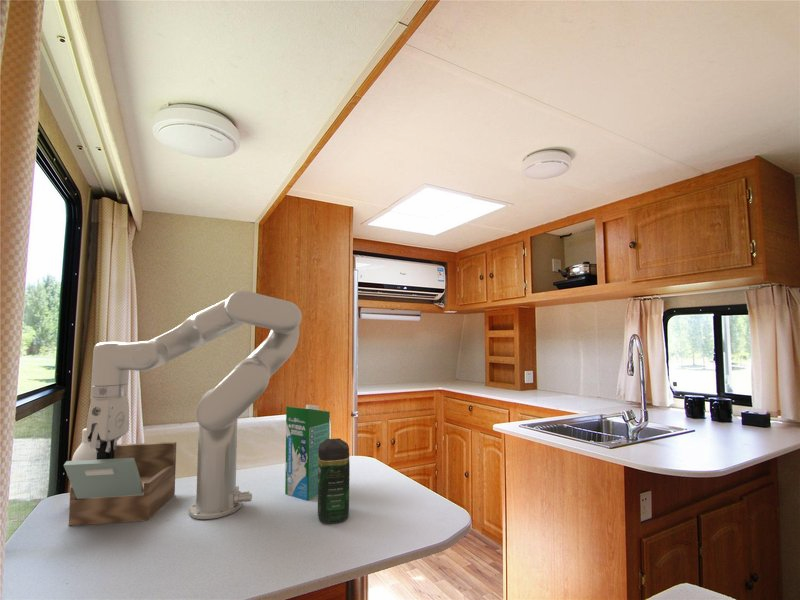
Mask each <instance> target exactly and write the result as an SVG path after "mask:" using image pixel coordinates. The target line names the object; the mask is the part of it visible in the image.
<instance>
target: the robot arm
mask: <svg viewBox="0 0 800 600" xmlns="http://www.w3.org/2000/svg"><path fill="white" fill-rule="evenodd" d="M302 318H303V315H302V312H301V309H300V308H299V306H298V305H296V303H294V302H291V301H288V300H284V299H280V298H277V297H273V296H268V295H264V294H260V293H256V292H253V291H249V290H244V289H243V290H237V291H235V292H233V293H231V294H230V295H229V297H228V298H226V299H223V300H221V301H220V302H217V303H215V304H213V305H211V306H209V307H207V308H205V309H202V310H200V311H198V312H196V313H194V314H193V315H191V316H189V317H188V318H186V319H185V320H184V321H183V322H182V323H181V324H179V325H177V326H176V327H174V328H172V329H171V330H169V331H167V332H165V333H163V334H161V335H158V336H156V337H154V338H152V339H150V340H143V341H142V340H141V341H136V342H124V341H103V342H98V343H96V344H95V345H94V346H93V351H92V352H93V353H92V369H91V380H90V381H91V383H90V384H91V385H90V398H89V399H90V403H89V409H88V414H87V418H86V419H87V422H86V428H87V429H86V439H87V441H89V442H91V444H90V448H95V449H96V453H97V459H96V460H100V459H114V455H115V449H116V445H118V440H120V439H121V438H122V436H123V437H124V436H125V435H126V434H127V433H128V432H129V429H130V403H129V397H128V394H129V374H130V371H135V372H149V371H151V370H154V369H156V368H159V367H161V366H163V365H164V364H167V363H169V362H171V361H172V360H174V359H176V358H178V357H180V356H182V355H184V354H186V353H188V352H190V351H193V350H194V349H196V348H197V349H198V348H200V347H202V346H205V345H206V344H209V343H210V342H213V341H214V340H216V339H219V338H220V337H222V336H223V335H226V334H228V333H230V332H231V331H233V330H235V329H238V328H240V327H241V326H244V325H245V324H247V325H250V326H255V327H259V328H264V329H268V330H269V331H270V332H269V334H268V336H267V337H266V338H265V339H264V340H263V341H262V342H261V343H260V345H258V346H257V347H256V348H255V349H254V350H253V351H252V352H251V353H250V354H249V355H247V356H246V358H244V359H243V360H242V361H240V362H238V363H237V364H236V365H235V367H234V368H233V369H232V371H231V372H229V374H227V376H225V377H224V378H223V380H221V381H220V382H219V383H218V384H217V385H216V386H215V387H214V388H211V389H209V390H208V391H206V392H204V394H203V395H202V397H200V400H199V402H198V404H197V406H196V410H195V417H196V421H197V423H198V433H197V434H198V438H197V462H196V464H197V467H196V468H197V469H196V499H195V500H196V501H195V502H194V503H193V504H192V505H191V506H190V507H189V509H188V510H189V511H188V513H189V514H188V515H189V516H190V517H191V518H193V519H197V520H198V519H199V520H211V519H217V518H222V517H225V516H229V515H231V514H233V513H235V512H236V511H238V510H239V509H240V508H242V503H247V502H252V499H253V493H250V491H249V490H247V491H241V490H240V486H238V485H237V448H238V418H240V416H242V414H244V413H245V412H246V410H247V409H249V407H251V405H253V404H254V403H255V402H256V400H258V398H260V397H261V395H263V393H264V392H265V391H266V389H267V387H268V385H269V384H270V383H269V382H270V378H271V377H272V376H273V375H274V374H275V373H277V371H278V370H279V369H280V368H281V367H282V366H283V365H284V364H285V363H286V361H287V360H289V358H291V356H292V354H293V353H294V351H295V350H296V348H297V346H298V343H299V339H300V325H301V323H302Z"/></svg>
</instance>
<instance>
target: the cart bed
mask: <svg viewBox="0 0 800 600" xmlns="http://www.w3.org/2000/svg"><path fill="white" fill-rule="evenodd" d="M120 458H134V459H135V462H136V466H137V469H138V472H139V476H140V479H141V482H142V486H143V489H144V491H143V493H142V495H128V496H112V497H95V498H79V499H77V498H76V495H75V493H74V490H73V488H72V487H71V489H70V488H69V502H70V503H69V508H68V509H69V511H68V526H69V525H72V526H86V525H98V524H101V525H102V524H114V523H115V522H116V523H127V522H129V523H130V522H131V523H132V522H142V520H145V521H149V520H150V519H151V518H152V517H153V516H154V515H155V514H156V513H158V511H159V510H161V508H163V507H164V506H165V505H166V504H167V503H168V502H169V501H170V500H171V499H172V498H173V497H174V496H175V494H176V468H177V467H176V463H177V441H168V442H167V441H166V442H165V441H164V442H163V441H162V442H147V443H142V442H141V443H123V444H122V443H120V444H118V443H117V445H116V449H115V455H114V459H120ZM164 504H165V505H164ZM163 505H164V506H163ZM148 519H149V520H148Z"/></svg>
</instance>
